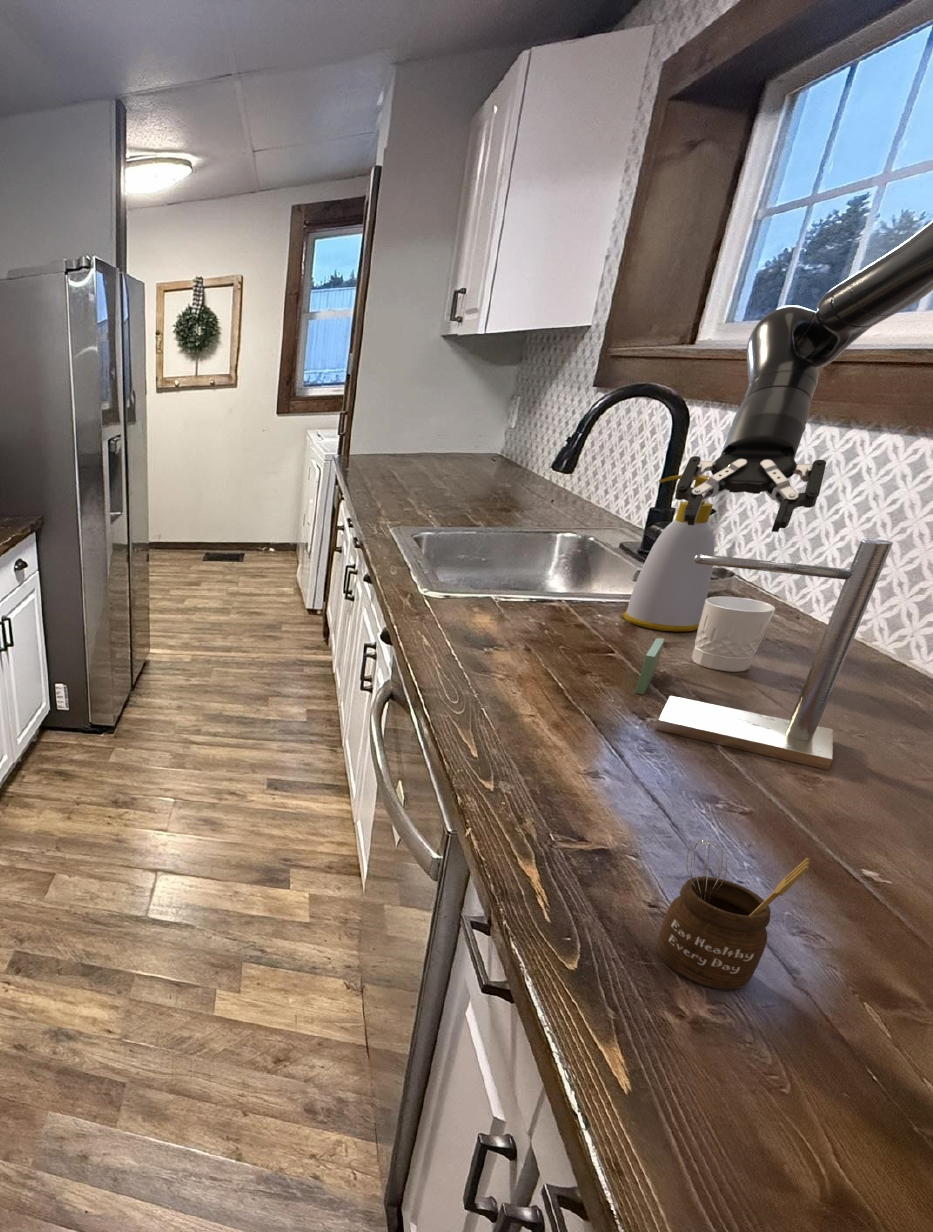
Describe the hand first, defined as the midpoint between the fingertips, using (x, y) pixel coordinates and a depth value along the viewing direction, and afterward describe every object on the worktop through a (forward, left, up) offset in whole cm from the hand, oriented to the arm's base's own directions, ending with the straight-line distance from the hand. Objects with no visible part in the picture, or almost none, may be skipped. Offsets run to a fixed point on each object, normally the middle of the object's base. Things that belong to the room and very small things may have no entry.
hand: (732, 525), depth 97 cm
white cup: (-7, -13, -24) cm, 28 cm away
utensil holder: (+11, +65, -24) cm, 71 cm away
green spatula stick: (+6, +5, -21) cm, 22 cm away
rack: (-2, +15, -24) cm, 28 cm away
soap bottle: (-3, -33, -24) cm, 41 cm away
